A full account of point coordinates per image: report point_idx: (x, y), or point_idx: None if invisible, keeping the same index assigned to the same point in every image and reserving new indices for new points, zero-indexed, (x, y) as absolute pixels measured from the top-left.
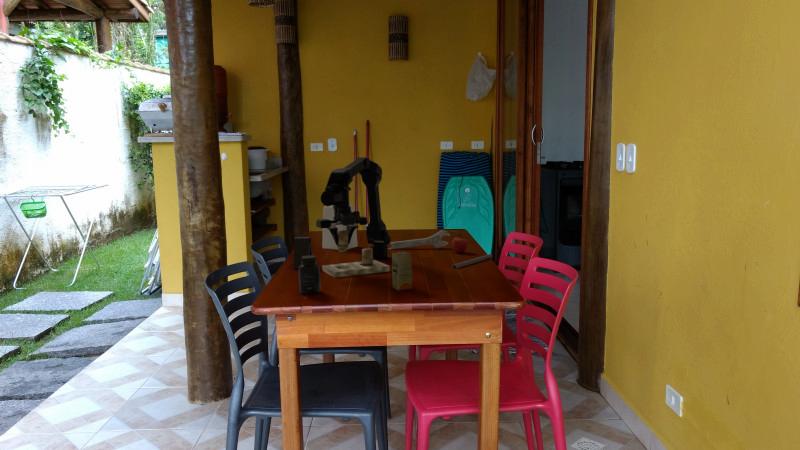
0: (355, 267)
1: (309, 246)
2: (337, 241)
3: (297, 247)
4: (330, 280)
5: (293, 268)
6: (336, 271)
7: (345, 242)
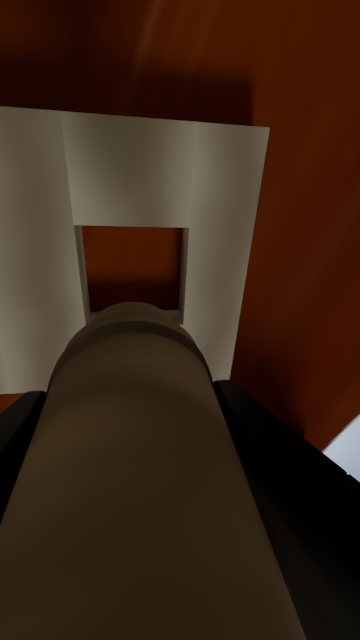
0: (48, 220)
1: None
2: (247, 414)
3: None
4: (327, 47)
5: (305, 439)
6: (245, 150)
7: (112, 361)
